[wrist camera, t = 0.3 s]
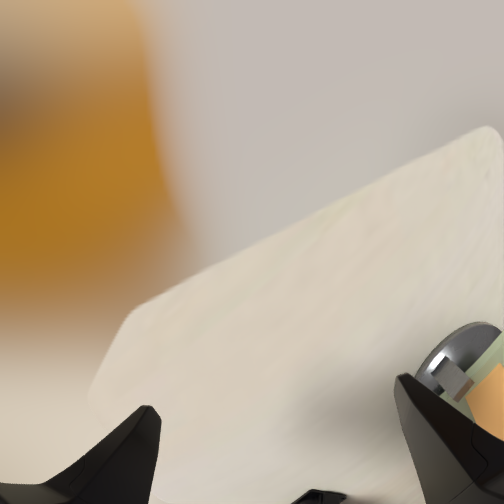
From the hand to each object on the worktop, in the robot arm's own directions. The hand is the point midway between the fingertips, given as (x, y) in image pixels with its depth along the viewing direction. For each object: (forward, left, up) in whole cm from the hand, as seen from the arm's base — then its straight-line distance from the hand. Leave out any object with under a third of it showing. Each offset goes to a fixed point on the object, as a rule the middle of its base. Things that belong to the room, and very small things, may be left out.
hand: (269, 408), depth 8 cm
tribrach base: (0, -25, -16) cm, 29 cm away
